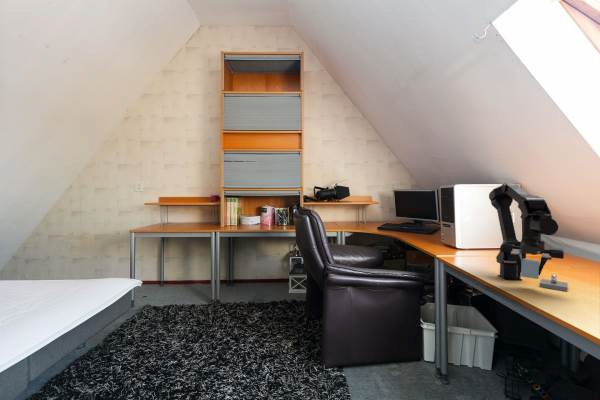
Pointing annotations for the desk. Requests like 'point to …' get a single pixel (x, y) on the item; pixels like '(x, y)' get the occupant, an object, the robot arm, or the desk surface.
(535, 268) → the pale blue cube
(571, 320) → the desk surface
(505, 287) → the desk surface
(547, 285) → the base plate
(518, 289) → the desk surface
